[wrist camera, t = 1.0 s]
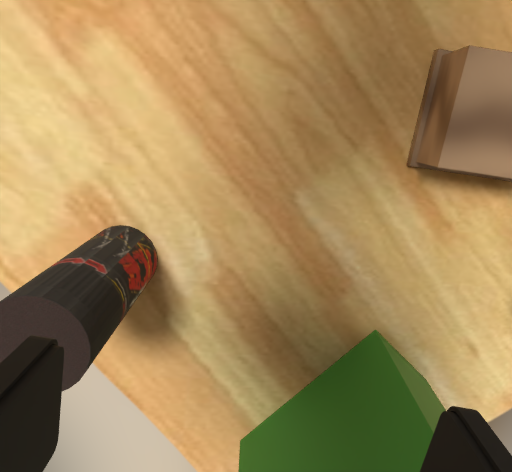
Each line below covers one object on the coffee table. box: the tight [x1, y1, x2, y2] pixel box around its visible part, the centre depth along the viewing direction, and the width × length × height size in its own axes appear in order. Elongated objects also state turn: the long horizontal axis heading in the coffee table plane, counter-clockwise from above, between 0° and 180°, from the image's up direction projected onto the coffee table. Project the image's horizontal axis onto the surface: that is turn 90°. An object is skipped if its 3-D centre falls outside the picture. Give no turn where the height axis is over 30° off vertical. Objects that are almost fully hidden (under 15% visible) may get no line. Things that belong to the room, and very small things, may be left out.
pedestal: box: [407, 46, 512, 182], centre depth 31 cm, size 9×9×5 cm
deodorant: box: [0, 225, 157, 391], centre depth 29 cm, size 6×6×15 cm
